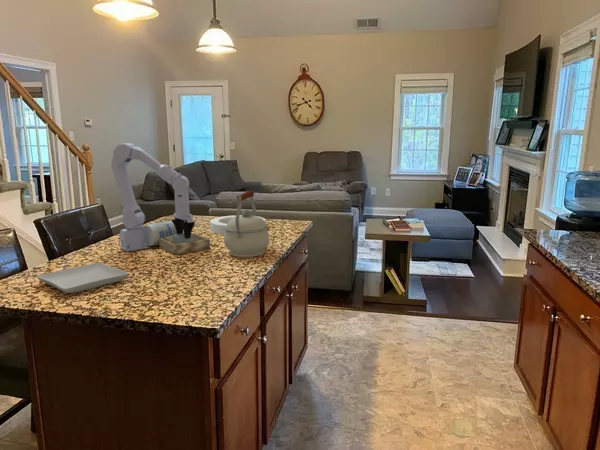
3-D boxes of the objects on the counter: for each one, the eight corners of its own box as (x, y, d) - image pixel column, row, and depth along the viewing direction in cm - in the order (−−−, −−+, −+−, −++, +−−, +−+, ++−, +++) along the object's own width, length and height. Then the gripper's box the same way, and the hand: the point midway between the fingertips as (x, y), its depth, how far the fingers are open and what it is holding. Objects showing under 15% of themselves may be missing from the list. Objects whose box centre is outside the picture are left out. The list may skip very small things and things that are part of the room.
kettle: (261, 261, 170) (259, 196, 165) (216, 258, 174) (213, 195, 169) (277, 245, 194) (276, 188, 189) (237, 243, 198) (235, 187, 192)
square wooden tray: (174, 254, 179) (173, 245, 178) (159, 247, 191) (158, 238, 191) (210, 248, 189) (209, 239, 188) (193, 241, 201) (193, 232, 200)
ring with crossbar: (231, 222, 247) (230, 213, 246) (275, 226, 235) (275, 217, 234) (199, 232, 222) (198, 222, 221) (246, 237, 210) (246, 227, 209)
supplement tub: (185, 234, 199) (157, 241, 188) (175, 243, 205) (147, 250, 194) (176, 215, 201) (148, 221, 189) (166, 225, 207) (138, 231, 195)
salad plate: (99, 270, 161) (98, 260, 161) (131, 282, 148) (130, 272, 147) (36, 285, 145) (35, 275, 145) (65, 300, 132) (64, 289, 131)
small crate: (178, 248, 186) (177, 237, 185) (173, 246, 190) (172, 234, 189) (194, 245, 190) (193, 234, 189) (188, 243, 194) (188, 232, 193)
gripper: (198, 206, 183) (200, 238, 186) (183, 202, 194) (185, 232, 197) (182, 208, 179) (184, 240, 182) (168, 203, 190) (170, 234, 193)
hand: (183, 236), depth 189 cm, fingers open, 7 cm apart
